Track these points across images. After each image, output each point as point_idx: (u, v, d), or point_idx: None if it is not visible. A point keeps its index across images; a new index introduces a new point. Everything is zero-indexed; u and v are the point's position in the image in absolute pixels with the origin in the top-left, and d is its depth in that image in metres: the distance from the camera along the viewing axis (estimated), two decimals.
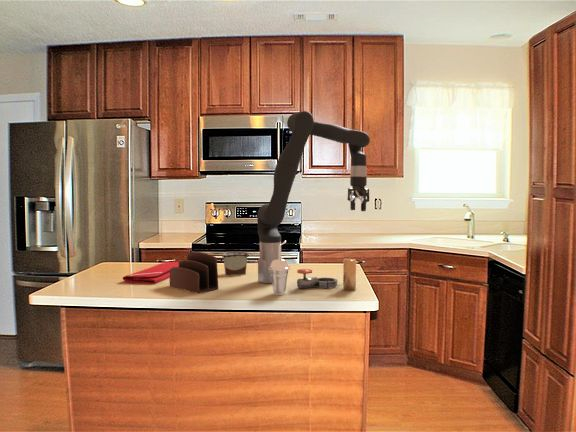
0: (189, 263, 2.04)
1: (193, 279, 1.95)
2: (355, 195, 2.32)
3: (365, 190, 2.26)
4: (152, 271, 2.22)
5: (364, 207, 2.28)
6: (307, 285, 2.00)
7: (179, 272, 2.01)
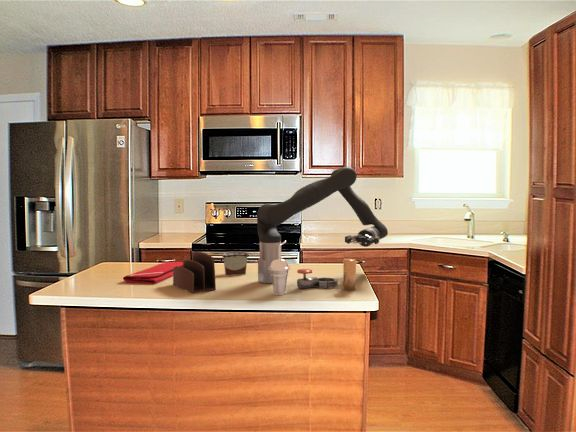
0: (190, 263, 2.04)
1: (189, 279, 1.95)
2: (360, 237, 2.15)
3: (379, 237, 2.15)
4: (152, 271, 2.22)
5: (371, 241, 2.08)
6: (307, 285, 2.00)
7: (179, 272, 2.03)
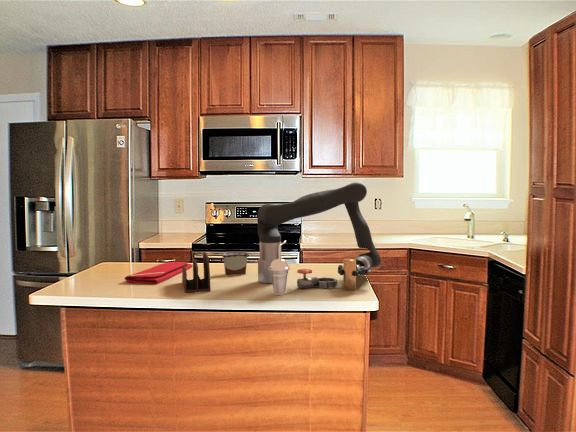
0: (194, 262, 2.06)
1: None
2: None
3: (370, 268, 2.03)
4: (154, 271, 2.21)
5: (358, 273, 1.97)
6: (307, 285, 2.00)
7: (183, 270, 2.06)
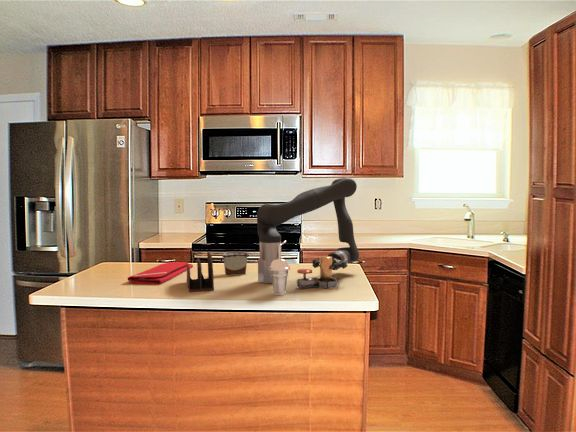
0: (198, 262, 2.07)
1: (188, 278, 1.98)
2: None
3: (347, 261, 2.10)
4: (156, 271, 2.21)
5: (338, 266, 2.04)
6: (307, 285, 2.00)
7: (187, 270, 2.07)
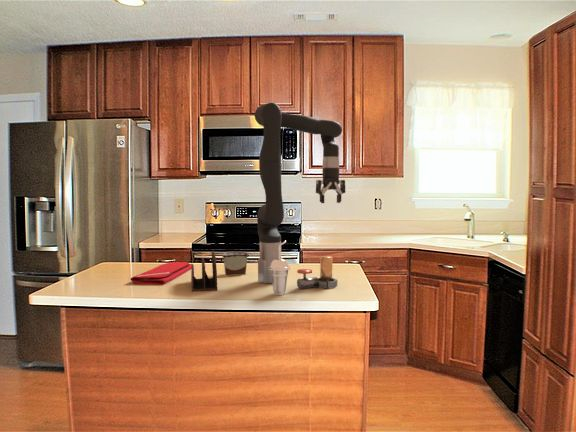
0: (202, 261, 2.08)
1: None
2: (330, 187, 2.24)
3: None
4: (159, 272, 2.20)
5: (340, 198, 2.28)
6: (307, 285, 2.00)
7: None
